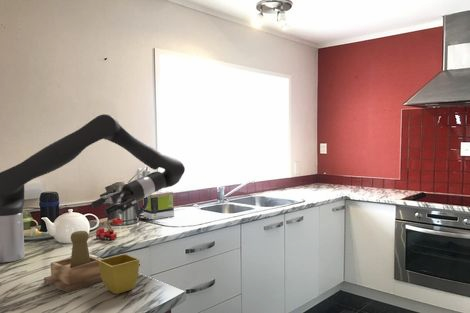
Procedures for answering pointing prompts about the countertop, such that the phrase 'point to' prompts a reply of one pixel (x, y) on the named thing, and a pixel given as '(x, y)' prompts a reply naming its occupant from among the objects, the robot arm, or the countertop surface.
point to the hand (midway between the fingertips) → (98, 208)
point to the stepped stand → (73, 274)
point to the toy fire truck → (110, 232)
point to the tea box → (159, 205)
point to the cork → (79, 248)
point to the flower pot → (119, 272)
